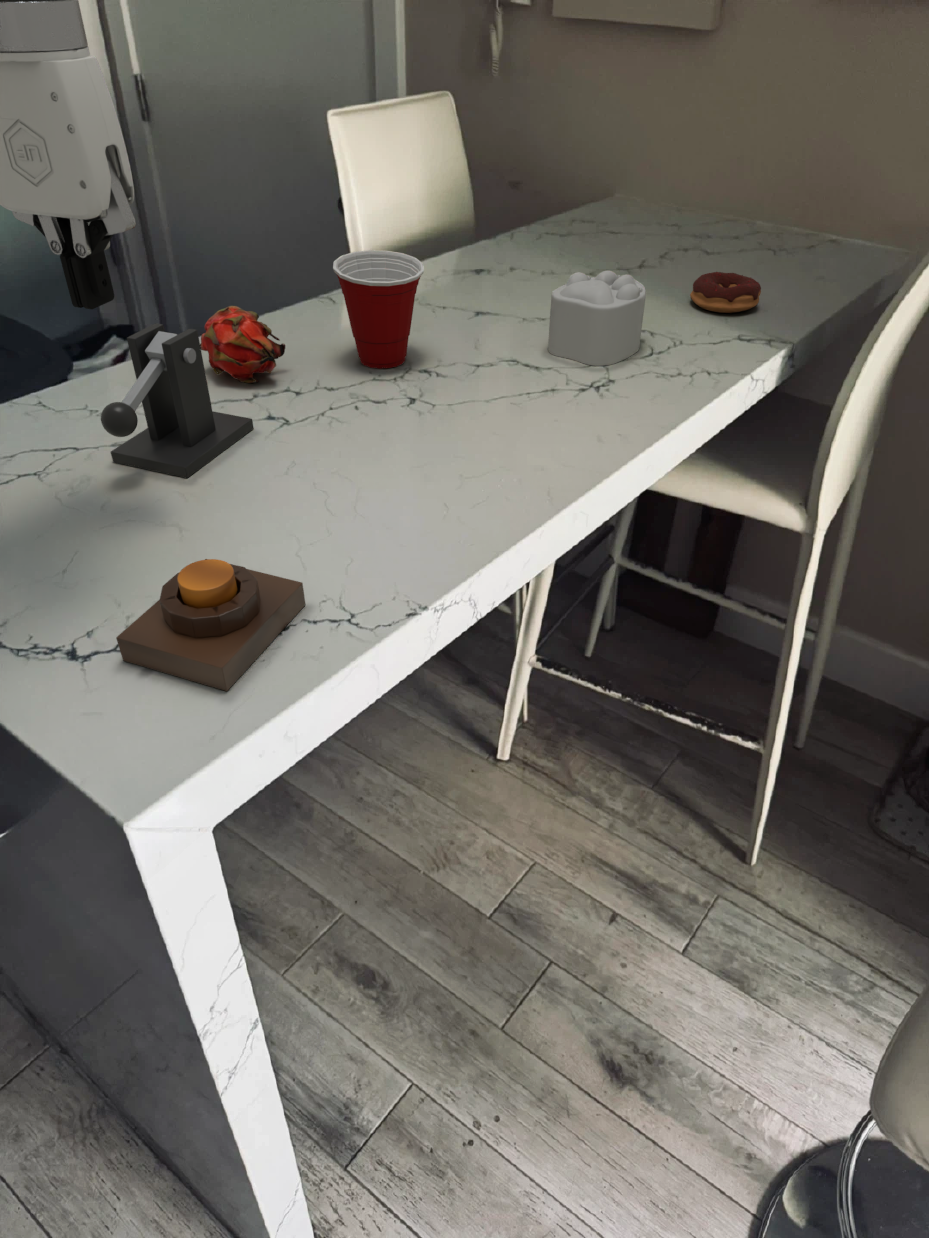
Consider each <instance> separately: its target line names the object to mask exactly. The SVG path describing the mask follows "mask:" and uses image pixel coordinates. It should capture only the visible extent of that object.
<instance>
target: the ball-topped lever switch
mask: <svg viewBox="0 0 929 1238" xmlns="http://www.w3.org/2000/svg"><path fill="white" fill-rule="evenodd" d="M176 335H178V334H177V333H172V332H166V331H165V332H160V331H159V332H158V333H157V334H156V336H155V337H154V339H153V340H152V341H151V343H150V344H149V346H148V347H147V348H146V350H145V352H146V354H147V356H148V357H149V359H150V362H149V363H148V365H147V366H146V368H145V369H144V370H143V372H142V373H141V375H140V376H139V378H138V379H135V382H134V383H133V384H132V386H131V388H130V389H129V390H128V392H127V393H126V394H125V396H124V398H123V399H122V401H114V402H111V403H109V404H107V405H106V406H105V407H104V408H103V410H102V411H101V413H100V422H101V425H102V428H103V429H104V431H106V432H107V433H108V434H109V435H111V436H113V437H117V438H125V437H129V436H130V435H132V434H133V433H134V432H135V431H136V429H137V426H138V422H139V421H138V420H139V419H138V415H137V413H136V411H137V410H138V408H139V406H140V405H141V404H142V401H143V399H144V398H145V396H146V395H147V393H148V392H149V390H150V389H151V387H152V386H153V384H154V383H155V382H156V380H157V379H158V377H159V376H160V374H161V373H162V371H167V367H166V363H165V358H164V353H163V349H162V343H163V342H165V341H167V340H169V339H171V338H173V337H174V336H176Z"/></svg>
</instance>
